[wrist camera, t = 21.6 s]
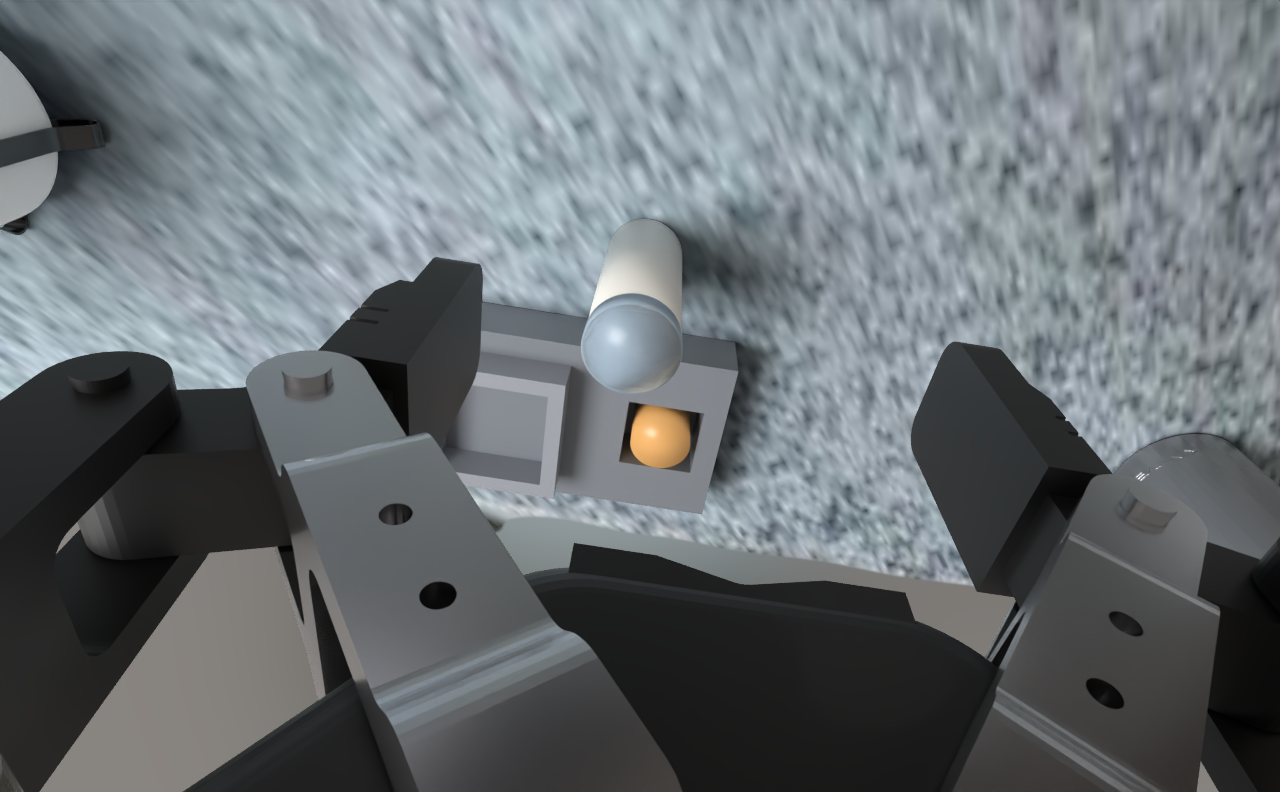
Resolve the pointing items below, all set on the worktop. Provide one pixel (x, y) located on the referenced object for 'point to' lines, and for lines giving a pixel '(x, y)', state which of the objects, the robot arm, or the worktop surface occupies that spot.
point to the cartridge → (637, 310)
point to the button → (660, 435)
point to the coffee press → (32, 147)
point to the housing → (581, 416)
